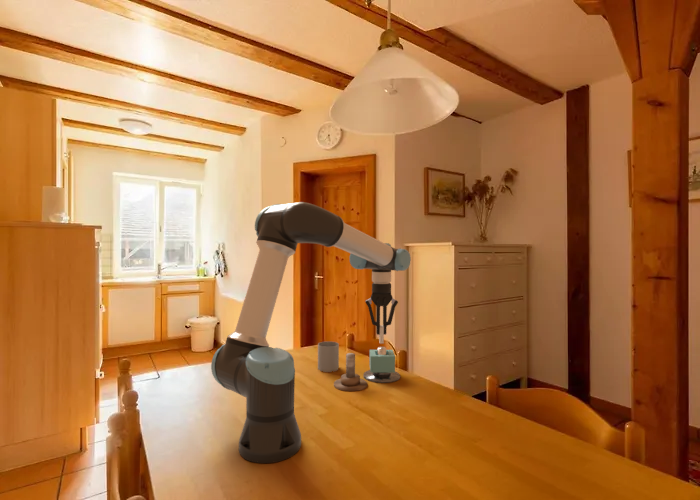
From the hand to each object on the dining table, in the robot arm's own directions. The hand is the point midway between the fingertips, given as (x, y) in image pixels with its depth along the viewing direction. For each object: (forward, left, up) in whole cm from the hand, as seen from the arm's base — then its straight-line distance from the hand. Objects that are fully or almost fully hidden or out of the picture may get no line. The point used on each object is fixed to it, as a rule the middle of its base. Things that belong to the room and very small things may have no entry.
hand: (381, 342), depth 149 cm
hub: (-4, 0, -12) cm, 13 cm away
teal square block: (-4, 0, -9) cm, 10 cm away
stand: (-13, +12, -12) cm, 21 cm away
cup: (+5, +21, -12) cm, 25 cm away
